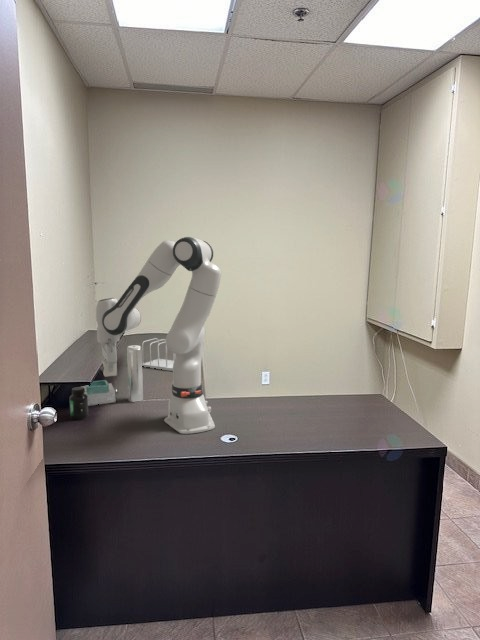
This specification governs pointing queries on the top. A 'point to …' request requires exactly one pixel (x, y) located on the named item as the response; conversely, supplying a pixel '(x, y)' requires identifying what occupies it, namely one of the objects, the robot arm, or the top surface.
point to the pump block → (106, 370)
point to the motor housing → (100, 393)
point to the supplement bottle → (78, 404)
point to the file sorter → (158, 362)
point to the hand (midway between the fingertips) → (110, 369)
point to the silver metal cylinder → (135, 373)
